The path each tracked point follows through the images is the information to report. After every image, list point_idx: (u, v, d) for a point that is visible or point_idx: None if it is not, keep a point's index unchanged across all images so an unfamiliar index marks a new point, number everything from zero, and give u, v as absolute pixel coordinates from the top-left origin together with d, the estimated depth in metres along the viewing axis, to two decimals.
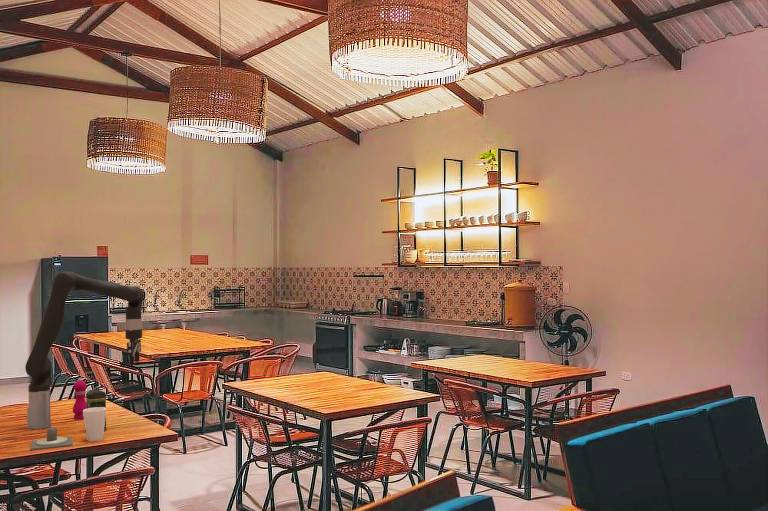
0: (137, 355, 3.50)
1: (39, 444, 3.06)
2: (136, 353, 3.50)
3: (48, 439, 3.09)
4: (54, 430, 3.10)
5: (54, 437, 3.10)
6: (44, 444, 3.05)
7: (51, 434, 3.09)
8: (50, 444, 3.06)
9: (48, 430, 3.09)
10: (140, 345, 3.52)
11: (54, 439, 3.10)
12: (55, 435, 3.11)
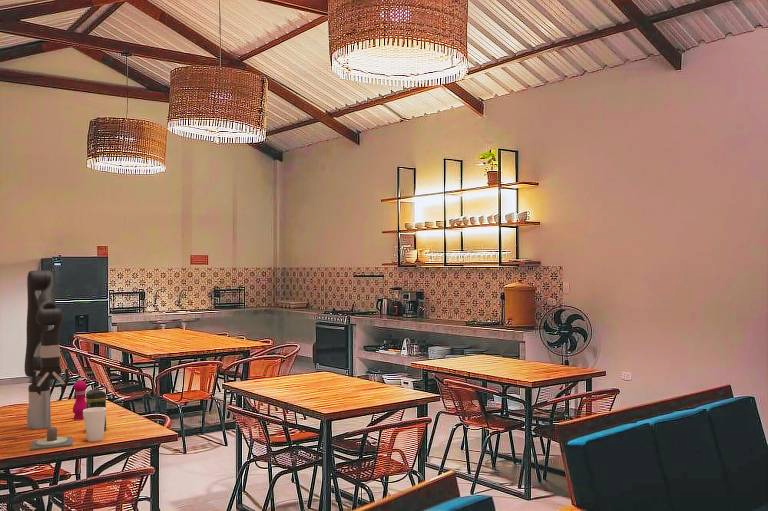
0: (40, 387, 3.10)
1: (39, 444, 3.06)
2: (40, 385, 3.10)
3: (48, 439, 3.09)
4: (54, 430, 3.10)
5: (54, 437, 3.10)
6: (44, 444, 3.05)
7: (51, 434, 3.09)
8: (50, 444, 3.06)
9: (48, 430, 3.09)
10: None
11: (54, 439, 3.10)
12: (55, 435, 3.11)
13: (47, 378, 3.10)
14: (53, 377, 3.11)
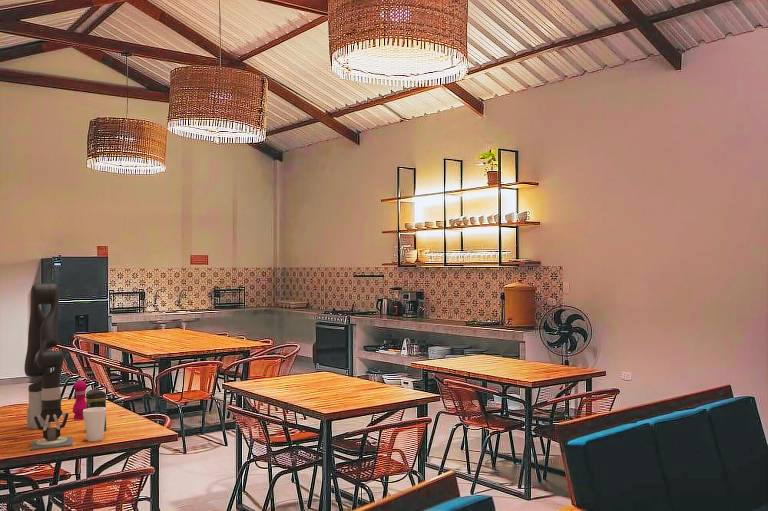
0: (46, 431, 3.11)
1: (39, 444, 3.06)
2: None
3: (48, 439, 3.09)
4: (54, 430, 3.10)
5: (54, 437, 3.10)
6: (44, 444, 3.05)
7: (51, 434, 3.09)
8: (50, 444, 3.06)
9: (48, 430, 3.09)
10: None
11: (54, 439, 3.10)
12: (55, 435, 3.11)
13: (48, 420, 3.10)
14: (52, 419, 3.10)
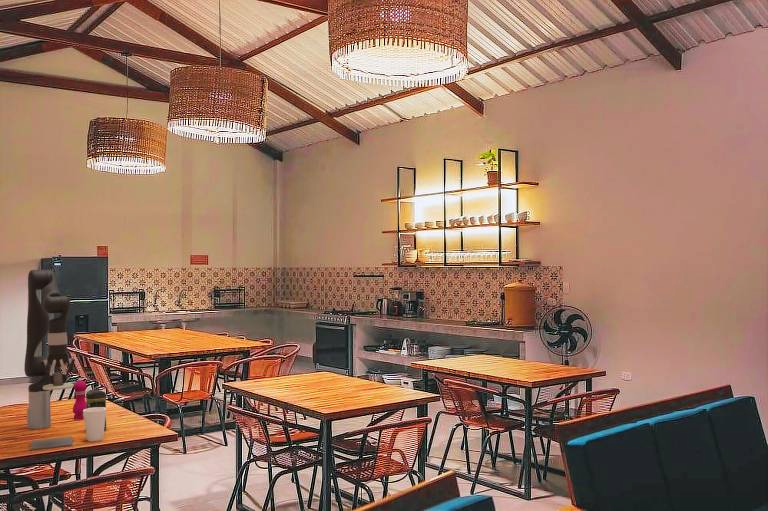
0: None
1: (45, 388, 3.07)
2: (52, 374, 3.12)
3: (54, 384, 3.10)
4: (60, 375, 3.11)
5: (60, 382, 3.11)
6: (50, 388, 3.06)
7: (57, 379, 3.11)
8: (56, 388, 3.07)
9: (54, 375, 3.10)
10: None
11: (60, 384, 3.11)
12: (61, 380, 3.12)
13: (54, 365, 3.11)
14: (58, 364, 3.12)
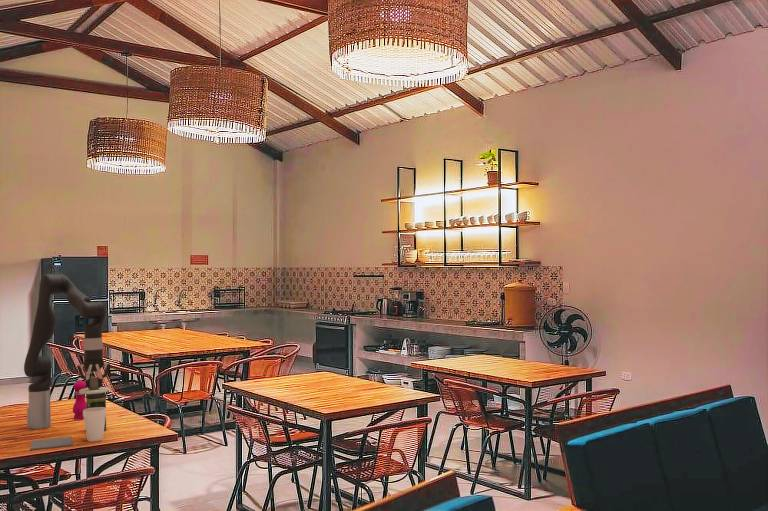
0: None
1: (82, 392, 3.12)
2: (88, 379, 3.17)
3: (91, 388, 3.16)
4: (96, 379, 3.17)
5: (96, 386, 3.16)
6: (87, 392, 3.12)
7: (94, 383, 3.16)
8: (93, 392, 3.12)
9: (91, 379, 3.16)
10: None
11: (96, 388, 3.17)
12: (97, 384, 3.17)
13: (90, 370, 3.16)
14: (94, 369, 3.17)
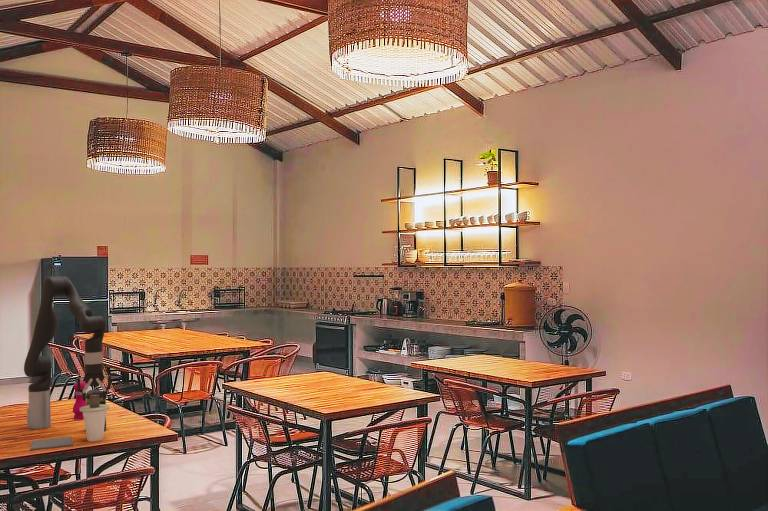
0: (85, 394, 3.17)
1: (83, 410, 3.12)
2: (85, 392, 3.16)
3: (91, 406, 3.16)
4: (97, 397, 3.17)
5: (97, 404, 3.16)
6: (88, 410, 3.12)
7: (94, 401, 3.16)
8: (94, 410, 3.12)
9: (91, 397, 3.16)
10: None
11: (97, 406, 3.17)
12: (98, 402, 3.17)
13: (91, 384, 3.16)
14: (96, 383, 3.17)
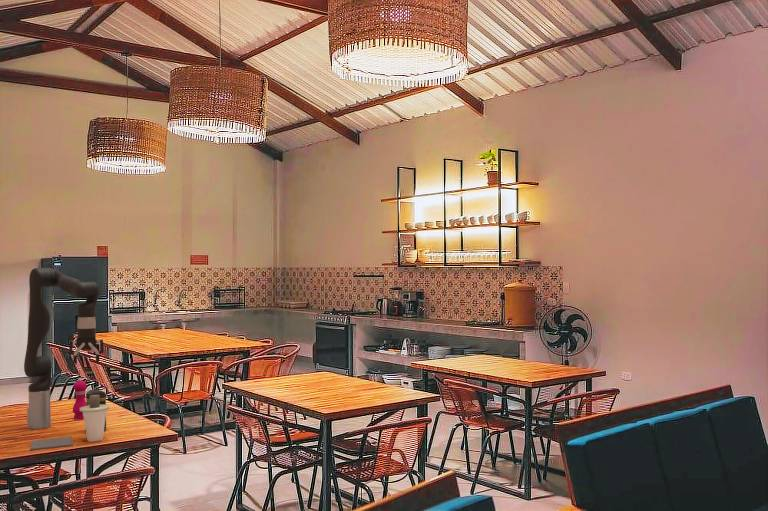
0: (76, 357, 3.24)
1: (83, 410, 3.12)
2: (76, 355, 3.24)
3: (91, 406, 3.16)
4: (97, 397, 3.17)
5: (97, 404, 3.16)
6: (88, 410, 3.12)
7: (94, 401, 3.16)
8: (94, 410, 3.12)
9: (91, 397, 3.16)
10: None
11: (97, 406, 3.17)
12: (98, 402, 3.17)
13: (83, 348, 3.24)
14: (89, 347, 3.25)
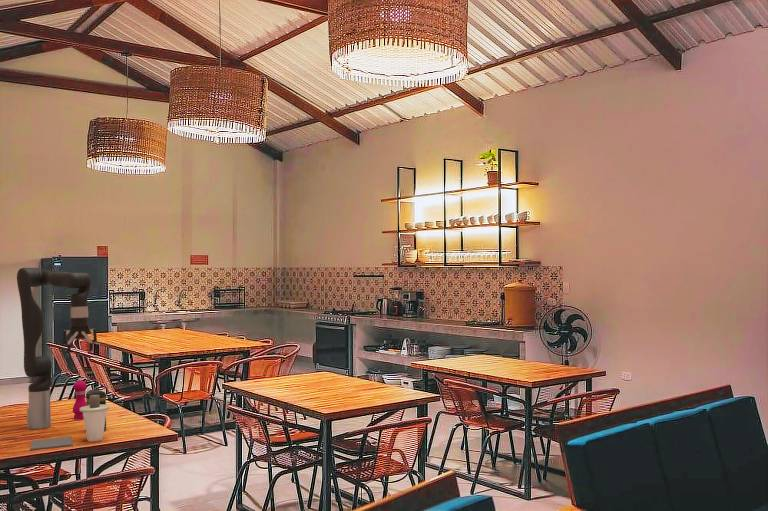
0: (70, 346, 3.32)
1: (83, 410, 3.12)
2: (70, 344, 3.32)
3: (91, 406, 3.16)
4: (97, 397, 3.17)
5: (97, 404, 3.16)
6: (88, 410, 3.12)
7: (94, 401, 3.16)
8: (94, 410, 3.12)
9: (91, 397, 3.16)
10: None
11: (97, 406, 3.17)
12: (98, 402, 3.17)
13: (76, 337, 3.32)
14: (82, 336, 3.33)
